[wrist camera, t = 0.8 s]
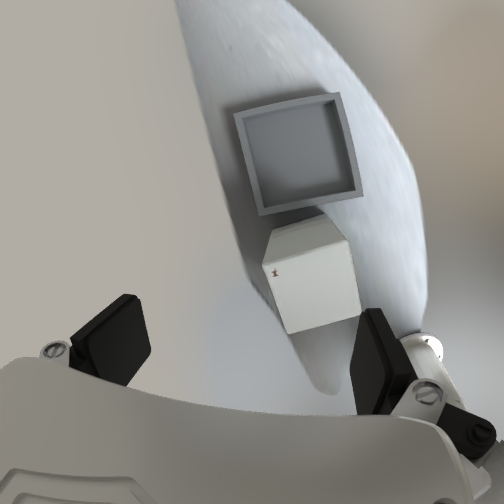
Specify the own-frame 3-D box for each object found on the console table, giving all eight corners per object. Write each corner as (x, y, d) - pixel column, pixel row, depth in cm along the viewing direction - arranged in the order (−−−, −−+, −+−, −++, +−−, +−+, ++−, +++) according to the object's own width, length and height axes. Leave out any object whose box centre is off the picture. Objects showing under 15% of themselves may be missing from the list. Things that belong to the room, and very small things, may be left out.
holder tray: (357, 193, 31) (363, 196, 28) (261, 212, 34) (258, 216, 31) (335, 98, 28) (339, 92, 25) (238, 117, 30) (233, 113, 28)
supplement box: (287, 281, 36) (284, 337, 24) (270, 228, 34) (258, 263, 22) (342, 266, 34) (364, 316, 22) (328, 211, 32) (348, 237, 20)
